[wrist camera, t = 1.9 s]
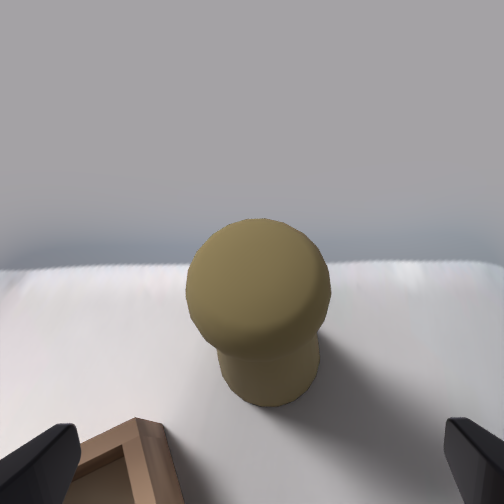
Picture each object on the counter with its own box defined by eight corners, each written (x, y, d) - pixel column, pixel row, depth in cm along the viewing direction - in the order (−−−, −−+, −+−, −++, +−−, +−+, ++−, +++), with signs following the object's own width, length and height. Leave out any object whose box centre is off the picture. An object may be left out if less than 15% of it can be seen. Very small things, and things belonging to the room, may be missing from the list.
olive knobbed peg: (288, 288, 22) (290, 169, 13) (340, 374, 20) (392, 300, 10) (203, 331, 22) (138, 235, 12) (244, 428, 19) (203, 402, 9)
